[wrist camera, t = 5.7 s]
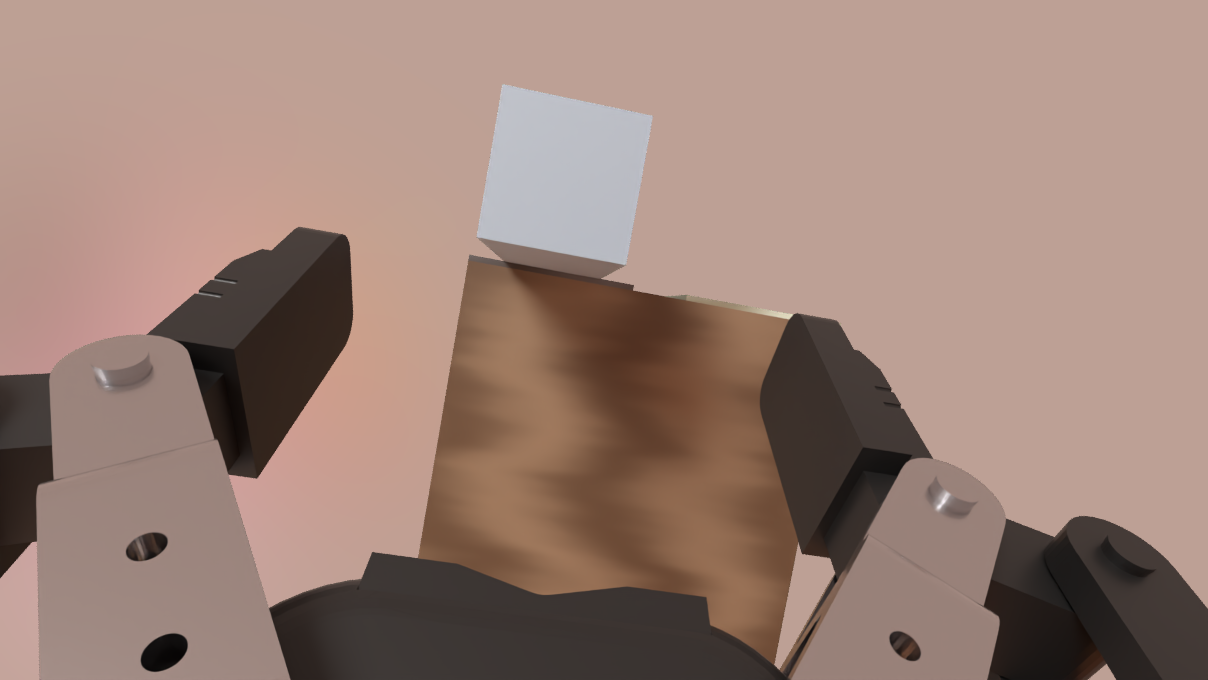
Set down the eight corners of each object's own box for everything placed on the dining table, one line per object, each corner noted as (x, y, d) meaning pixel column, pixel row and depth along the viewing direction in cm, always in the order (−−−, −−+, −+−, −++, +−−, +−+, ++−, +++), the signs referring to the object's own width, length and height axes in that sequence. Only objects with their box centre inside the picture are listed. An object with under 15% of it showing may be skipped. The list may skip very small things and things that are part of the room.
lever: (476, 237, 14) (502, 84, 14) (521, 276, 34) (532, 213, 34) (625, 264, 14) (652, 116, 14) (583, 287, 34) (595, 225, 34)
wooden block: (327, 1096, 23) (469, 254, 22) (403, 828, 35) (499, 272, 34) (685, 1117, 25) (841, 323, 23) (642, 851, 37) (743, 317, 35)
